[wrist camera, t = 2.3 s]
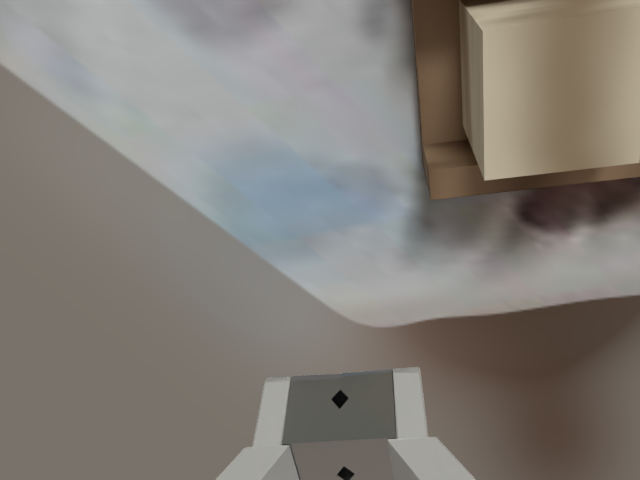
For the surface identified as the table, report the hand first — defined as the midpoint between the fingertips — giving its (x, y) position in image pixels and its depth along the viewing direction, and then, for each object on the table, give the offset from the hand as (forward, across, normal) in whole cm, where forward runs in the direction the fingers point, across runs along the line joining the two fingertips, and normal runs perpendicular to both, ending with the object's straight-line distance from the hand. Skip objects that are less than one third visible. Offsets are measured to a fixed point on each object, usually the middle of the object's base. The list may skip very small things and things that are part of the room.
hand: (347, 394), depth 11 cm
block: (+20, -8, 0) cm, 21 cm away
